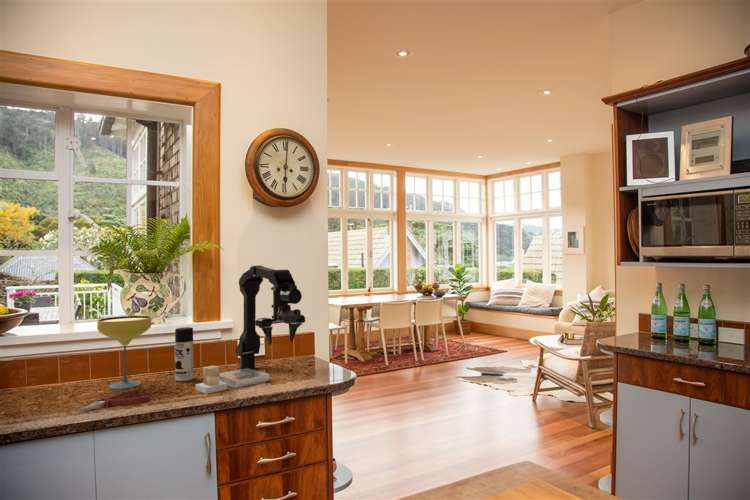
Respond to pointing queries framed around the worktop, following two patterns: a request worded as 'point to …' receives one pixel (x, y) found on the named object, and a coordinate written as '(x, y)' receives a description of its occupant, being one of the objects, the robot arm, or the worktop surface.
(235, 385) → the plate
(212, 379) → the peg
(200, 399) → the worktop surface
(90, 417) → the worktop surface
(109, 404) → the pliers
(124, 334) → the cocktail glass
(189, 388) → the worktop surface
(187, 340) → the spray can
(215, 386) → the soap bar
